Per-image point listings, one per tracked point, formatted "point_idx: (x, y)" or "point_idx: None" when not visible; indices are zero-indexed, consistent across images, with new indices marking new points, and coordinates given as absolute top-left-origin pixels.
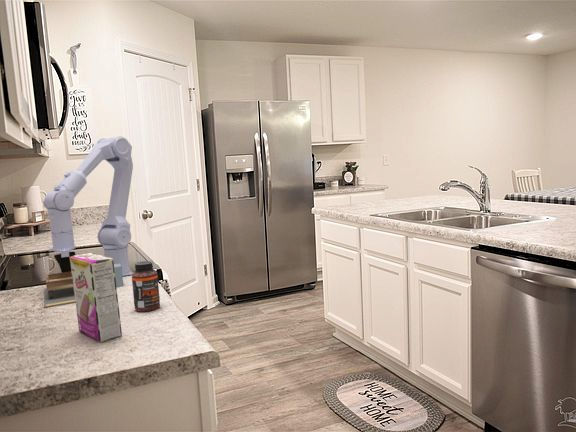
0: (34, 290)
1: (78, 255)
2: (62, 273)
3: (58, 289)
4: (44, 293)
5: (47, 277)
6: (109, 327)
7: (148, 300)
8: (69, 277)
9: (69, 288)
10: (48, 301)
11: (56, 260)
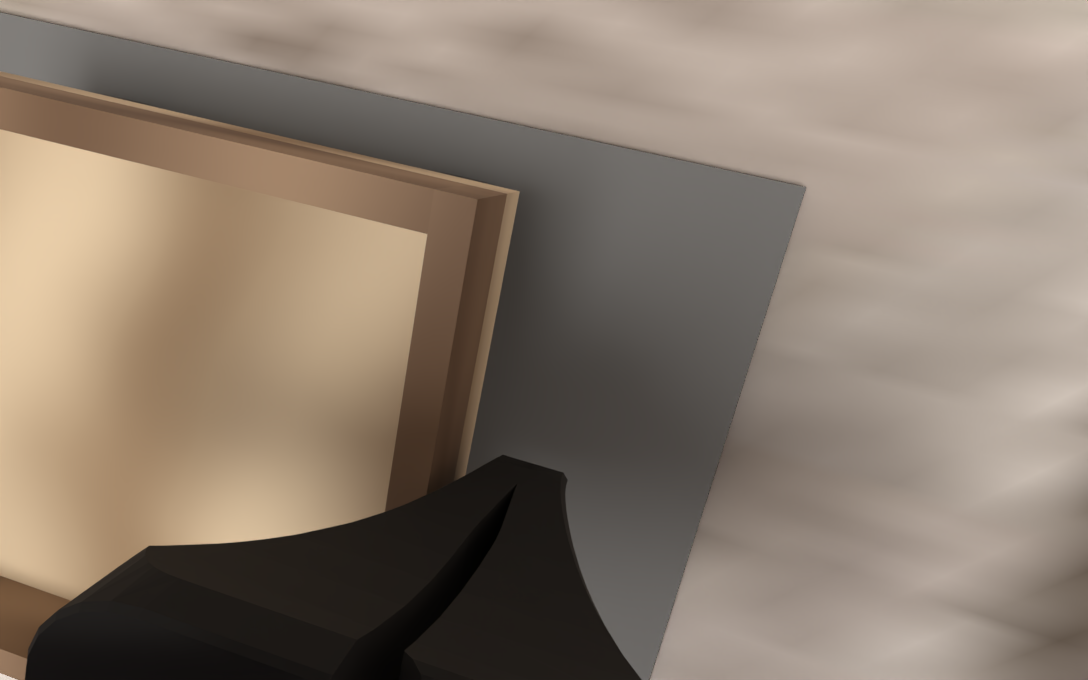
0: (930, 52)
1: None
2: (392, 467)
3: (552, 321)
4: (475, 119)
5: (188, 158)
6: None
7: None
8: (370, 505)
9: (479, 430)
10: (27, 68)
11: (195, 544)
